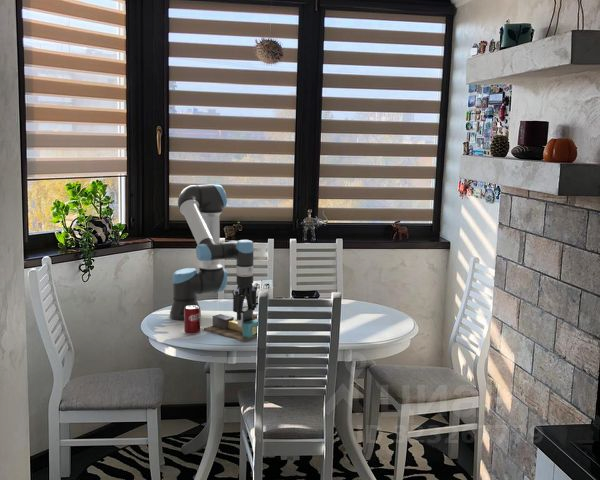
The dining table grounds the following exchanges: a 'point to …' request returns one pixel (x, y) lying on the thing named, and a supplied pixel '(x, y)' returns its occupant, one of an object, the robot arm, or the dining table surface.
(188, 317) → the soda can
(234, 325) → the square head mallet
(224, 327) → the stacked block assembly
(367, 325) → the dining table surface
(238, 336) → the base board
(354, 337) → the dining table surface
